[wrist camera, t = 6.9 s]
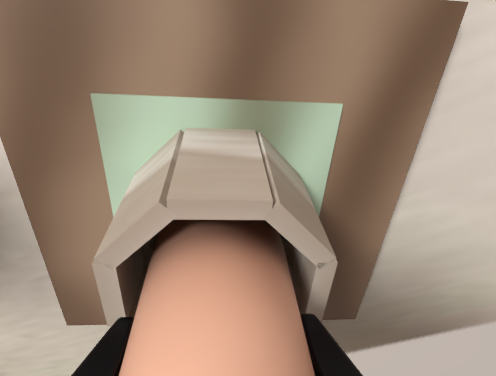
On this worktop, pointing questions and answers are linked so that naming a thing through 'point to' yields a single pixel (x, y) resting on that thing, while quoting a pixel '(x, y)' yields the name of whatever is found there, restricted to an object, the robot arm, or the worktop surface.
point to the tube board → (215, 131)
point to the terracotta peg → (217, 305)
